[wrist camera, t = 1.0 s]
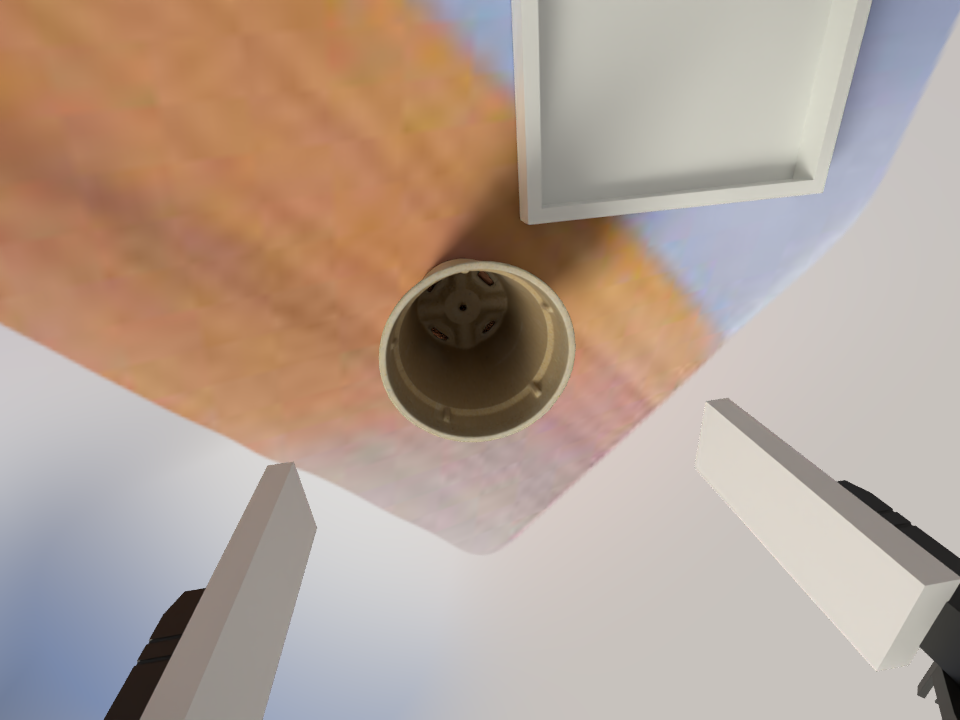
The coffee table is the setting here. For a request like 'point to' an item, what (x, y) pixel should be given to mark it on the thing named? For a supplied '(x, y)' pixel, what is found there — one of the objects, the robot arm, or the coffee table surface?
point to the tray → (677, 101)
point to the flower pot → (477, 351)
